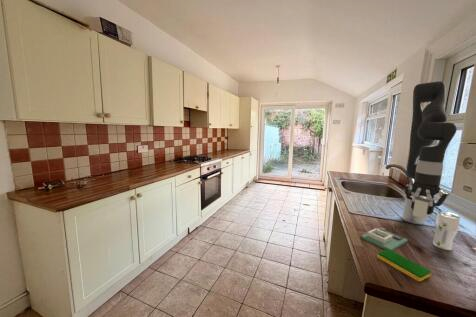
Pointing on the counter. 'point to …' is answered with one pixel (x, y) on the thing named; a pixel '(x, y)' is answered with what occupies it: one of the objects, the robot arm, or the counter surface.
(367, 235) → the board
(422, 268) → the dish sponge
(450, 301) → the counter surface
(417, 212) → the plug
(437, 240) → the beer glass
